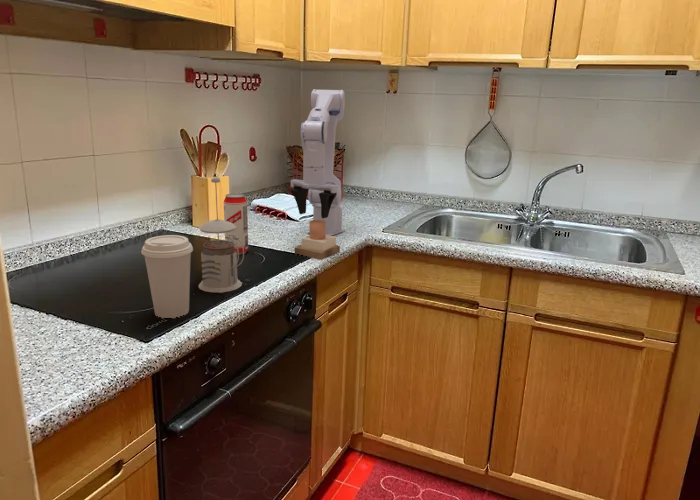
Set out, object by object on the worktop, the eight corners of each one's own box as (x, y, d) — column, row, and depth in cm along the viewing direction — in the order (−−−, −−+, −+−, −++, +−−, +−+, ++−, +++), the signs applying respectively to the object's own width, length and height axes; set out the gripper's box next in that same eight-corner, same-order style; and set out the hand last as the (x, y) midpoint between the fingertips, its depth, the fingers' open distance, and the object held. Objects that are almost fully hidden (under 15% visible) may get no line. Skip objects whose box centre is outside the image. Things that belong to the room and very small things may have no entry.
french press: (219, 275, 130) (215, 172, 123) (256, 284, 124) (254, 177, 117) (188, 286, 122) (182, 177, 115) (227, 297, 116) (222, 182, 109)
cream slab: (315, 241, 154) (315, 233, 153) (336, 245, 151) (336, 236, 150) (301, 247, 148) (301, 238, 147) (323, 251, 145) (323, 242, 144)
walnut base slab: (313, 248, 156) (313, 240, 155) (339, 254, 151) (339, 245, 150) (294, 256, 148) (294, 247, 148) (321, 262, 144) (321, 253, 143)
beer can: (243, 256, 145) (241, 198, 140) (221, 254, 146) (219, 196, 141) (252, 250, 150) (250, 193, 146) (231, 248, 152) (229, 192, 147)
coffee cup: (136, 316, 105) (129, 242, 101) (170, 300, 114) (165, 231, 109) (174, 325, 102) (168, 249, 97) (206, 308, 110) (202, 237, 106)
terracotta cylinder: (315, 234, 151) (315, 219, 150) (328, 236, 149) (328, 221, 148) (306, 238, 148) (306, 222, 146) (319, 240, 146) (319, 224, 144)
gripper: (283, 165, 145) (283, 214, 148) (327, 170, 137) (326, 222, 141) (299, 162, 150) (299, 210, 154) (342, 167, 143) (341, 217, 147)
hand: (313, 215), depth 148 cm, fingers open, 7 cm apart
